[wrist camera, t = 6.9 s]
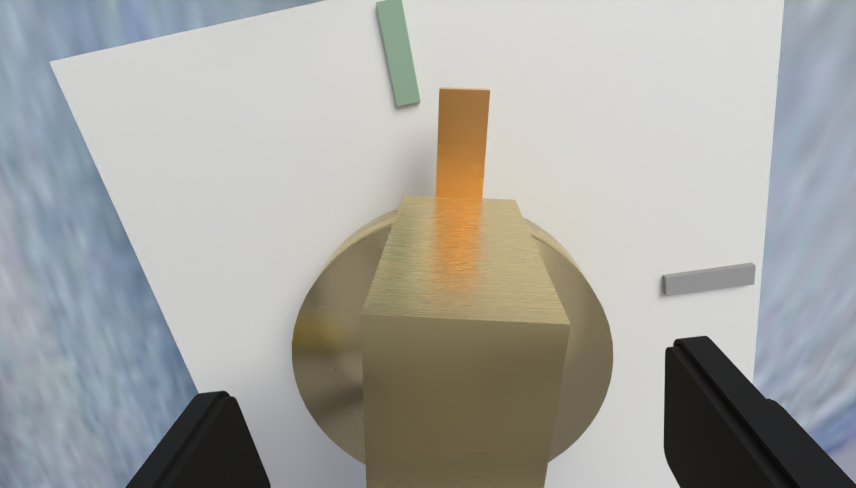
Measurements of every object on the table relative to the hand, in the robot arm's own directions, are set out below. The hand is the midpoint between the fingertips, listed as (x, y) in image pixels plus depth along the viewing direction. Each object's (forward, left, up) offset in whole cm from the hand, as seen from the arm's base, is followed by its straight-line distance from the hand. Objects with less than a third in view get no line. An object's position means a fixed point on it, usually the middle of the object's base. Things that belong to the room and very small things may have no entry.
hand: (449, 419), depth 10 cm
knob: (0, +1, -4) cm, 4 cm away
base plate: (0, 0, -7) cm, 7 cm away
